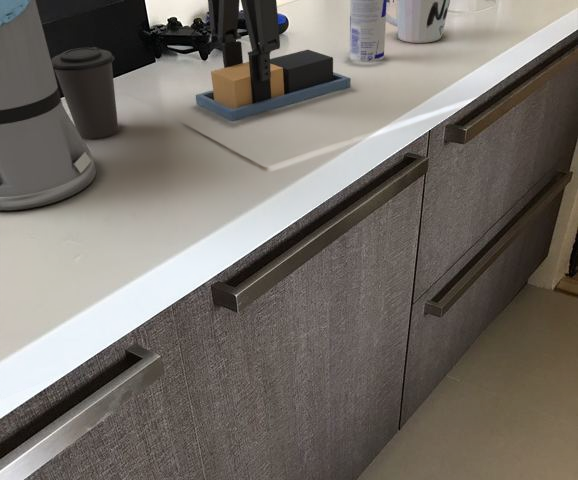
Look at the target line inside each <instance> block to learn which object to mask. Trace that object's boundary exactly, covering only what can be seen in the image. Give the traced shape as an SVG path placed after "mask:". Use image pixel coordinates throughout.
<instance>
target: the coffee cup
mask: <svg viewBox="0 0 578 480" xmlns="http://www.w3.org/2000/svg"><path fill="white" fill-rule="evenodd" d="M114 61H115V56H114V55H113V54H112V52H111V51H110V50H107V49H101V48H99V47H97V46H92V47H79V48H72V49H69V50H66V51H63V52H61V53H60V54H57V55H55V56H54V57H52V58H51V62H52V66H53V70H54V73H55V76H56V79H57V82H58V84H59V86H60V89H61V91H62V94H63V97H64V100H65V102H66V105H67V107H68V110H69V113H70V117H71V118H72V119H71V120H72V122H73V124H74V126H75V127H76V129H77V131H78V132H79V134H80V136H81V137H82V139H88V140H89V139H90V140H95V139H104V138H107V137H111V136H113V135H114V134H117V133H118V131H119V125H118V124H119V121H118V112H117V103H116V93H115V83H114V73H113V62H114Z"/></svg>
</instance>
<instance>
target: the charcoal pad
mask: <svg viewBox="0 0 578 480" xmlns="http://www.w3.org/2000/svg"><path fill="white" fill-rule="evenodd" d="M270 63H271V64H273V65H276V66H279V67H282V68H283V80H284V95H285V94H289V93H292V92H296V91H299V90H303V89H307V88H310V87H314V86H317V85H321V84H324V83H328V82H331V81H333V72H334V57H333V56H329V55H327V54H323V53H320V52H317V51H315V50H311V49H304V50H300V51H296V52H292V53H287V54H285V55H280V56H277V57H272V58H270Z"/></svg>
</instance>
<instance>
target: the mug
mask: <svg viewBox="0 0 578 480" xmlns="http://www.w3.org/2000/svg"><path fill="white" fill-rule="evenodd" d="M394 1H395V14H396V15H395V16H396V18H395V17H392V16H391V15H390V14H388V13H387V12H386V23H388V24H389V25H392V26H393V27H396V29H397V36H398V39H399V40H401V41H402V42H406V43H411V44H412V43H413V44H426V43H432V42H436V41H438V40H440V39H441V38H442V36H443V33H444V29H445V24H446V20H447V17H448V11H449V7H450V2H451V0H394Z"/></svg>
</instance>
